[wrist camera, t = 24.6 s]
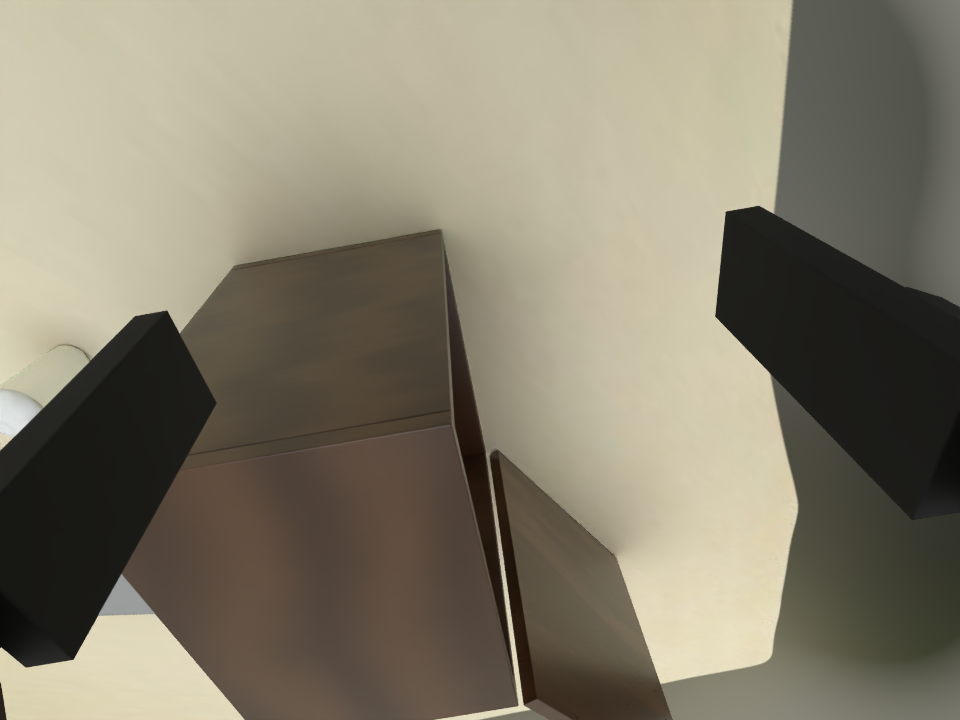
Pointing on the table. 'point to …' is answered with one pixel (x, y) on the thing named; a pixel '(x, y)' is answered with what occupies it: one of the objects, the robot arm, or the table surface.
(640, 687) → the cupboard door
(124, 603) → the award plaque
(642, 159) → the table surface
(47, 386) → the milkshake
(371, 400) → the cupboard
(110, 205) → the table surface
